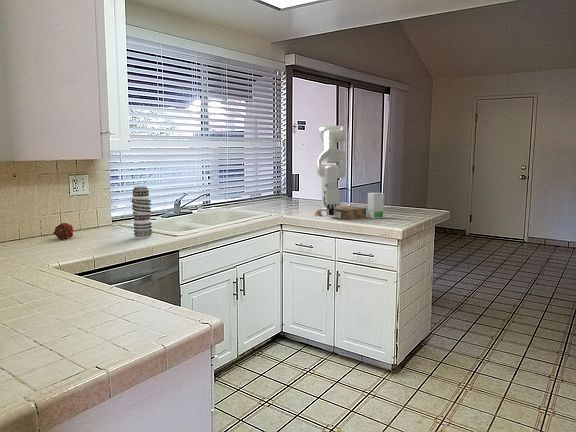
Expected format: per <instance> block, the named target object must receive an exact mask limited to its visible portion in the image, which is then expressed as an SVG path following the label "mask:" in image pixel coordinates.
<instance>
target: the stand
mask: <svg viewBox="0 0 576 432" xmlns="http://www.w3.org/2000/svg"><path fill="white" fill-rule="evenodd" d="M321 216H322V210H321V209H314V217H321Z"/></svg>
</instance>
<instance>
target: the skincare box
mask: <svg viewBox="0 0 576 432" xmlns="http://www.w3.org/2000/svg"><path fill="white" fill-rule="evenodd" d="M384 202H385V193H383V192H368V193H367V210H366V218H368V219H384V211H385V210H384V209H385V203H384Z"/></svg>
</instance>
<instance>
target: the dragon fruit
mask: <svg viewBox="0 0 576 432" xmlns="http://www.w3.org/2000/svg"><path fill="white" fill-rule="evenodd" d="M53 235H54V236H56V237H57V238H58V239H60V240H67V239H68V238H73V236H74V227H73V225H72V224H68V223H67V222H63V223H60V224H58V225H57V226H56V227H55V228H54V231H53Z"/></svg>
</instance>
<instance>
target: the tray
mask: <svg viewBox="0 0 576 432" xmlns="http://www.w3.org/2000/svg"><path fill="white" fill-rule="evenodd" d="M327 217H329V218H335V219H341V220H342V215H341V212H338V211H334V215H332V216H331V215H329V214H328V216H327Z"/></svg>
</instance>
